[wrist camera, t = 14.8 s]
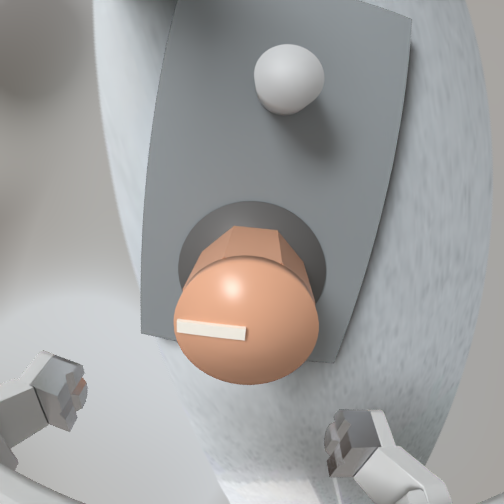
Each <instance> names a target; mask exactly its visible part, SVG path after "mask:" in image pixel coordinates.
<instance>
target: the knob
mask: <svg viewBox="0 0 504 504" xmlns="http://www.w3.org/2000/svg"><path fill="white" fill-rule="evenodd" d="M174 332H175V336H176V339H177V342H178V344H179V346H180V348H181V350H182V351H183V353H184V354H185V356H186V357H187V358H188V359H189V360H190V361H191V362H192V363H193V364H194V365H195V366H196V367H197V368H199V369H200V370H201V371H203V372H205V373H206V374H208V375H210V376H212V377H214V378H216V379H219V380H222V381H225V382H229V383H234V384H242V385H255V384H263V383H268V382H272V381H275V380H278V379H280V378H283V377H285V376H287V375H289V374H290V373H292V372H293V371H295V370H296V369H297V368H299V367H300V366H301V365H302V364H303V363H304V362H305V361H306V360H307V358H308V357H309V356H310V354H311V353H312V351H313V349H314V347H315V344H316V341H317V338H318V332H319V320H318V314H317V311H316V307H315V300H314V296H313V293H312V289H311V286H310V283H309V279H308V276H307V273H306V269H305V266H304V263H303V261H302V260H301V259H300V257H299V256H298V255H297V254H296V252H295V251H294V250H293V249H292V247H291V246H290V245H289V244H288V243H287V241H286V240H285V239H284V238H283V236H282V235H281V234H280V233H279V232H278V230H271V229H261V228H251V227H241V226H233V227H232V228H231V229H229V230H228V231H227V232H226V233H224V234H223V235H222V236H221V237H219V238H218V239H217V240H216V241H214V242H213V243H212V244H211V245H209V246H208V247H207V248H206V249H205V250H203V251H202V253H201V254H200V256H199V258H198V260H197V262H196V264H195V266H194V268H193V270H192V272H191V274H190V276H189V278H188V280H187V282H186V284H185V286H184V288H183V292H182V294H181V296H180V298H179V300H178V303H177V305H176V308H175V313H174Z"/></svg>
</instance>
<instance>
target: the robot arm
mask: <svg viewBox="0 0 504 504" xmlns="http://www.w3.org/2000/svg"><path fill="white" fill-rule="evenodd" d="M83 375H84V369H83V365H80V364H78V363H75V362H73V361H70V360H67V359H65V358H62V357H59V356H57V355H54V354H51V353H49V352H46V351H44V350H43V351H41V352H39V353H38V355H37V356H36V357H35V358H34V360H33V361H32V362H31V363H30V365H29V366H28V367H27V368H26V370H25V371H24V372H23V373H22V375H21V376H20V377H19V379H18V380H17V379H12V380H9V381H7V382H4V383H1V384H0V504H85V503H82V502H80V501H77V500H75V499H72V498H70V497H68V496H65V495H63V494H61V493H58V492H56V491H54V490H52V489H50V488H47V487H45V486H43V485H41V484H39V483H37V482H35V481H33V480H31V479H29V478H27V477H25V476H24V475H22V474H20V473H18V472H16V471H15V469H16V467H17V465H18V460H17V458H16V457H15V455H14V454H13V452H12V451H11V448H12V447H14V446H15V445H17V444H19V443H20V442H22V441H24V440H25V439H27V438H28V437H30V436H32V435H33V434H35V433H36V432H38V431H40V430H41V429H43V428H44V427H46V426H47V425H48V424H50V425H53V426H55V427H58V428H61V429H63V430H66V431H69V432H70V431H71V429H72V427H73V425H74V423H75V421H76V419H77V415H76V411H78V410H80V409H82V408H83V406H84V404H85V402H86V398H87V383H86V381H85V380H84V379H83V378H82V376H83ZM334 420H335V422H333V423H331V424H330V425H329V426H328V428H327V430H326V433H325V437H324V446H325V451H326V452H327V453H328V454H329V455H330V457H329V459H328V460H327V465H328V471H329V477H353V478H354V480H355V481H356V482H357V483H358V484H359V486H360V487H361V488H362V489H363V490H364V492H365V493H366V494H367V495H368V496H369V497H370V499H371V500H372V501H373V502H374V503H375V504H453V503H452V500H451V497H450V494H449V492H448V489H447V486H446V484H445V482H444V481H442V480H441V479H440V478H439V477H437V476H436V475H435V474H434V473H432V472H431V471H430V470H428V469H427V468H426V467H425V466H424V465H422V464H421V463H420V462H419V461H418V460H416V459H415V458H414V457H413V456H411V455H410V454H409V453H408V452H407V451H405V450H404V449H403V448H402V447H401V446H396V444H395V441H394V439H393V436H392V433H391V430H390V428H389V425H388V422H387V420H386V417H385V414H384V412H383V411H382V410H349V409H339V410H338V411H337V412H336V413H335V415H334ZM477 504H504V492H503V493H501V494H499V495H496V496H494V497H492V498H489V499H487V500H485V501H482V502H480V503H477Z"/></svg>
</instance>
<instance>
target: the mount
mask: <svg viewBox="0 0 504 504" xmlns="http://www.w3.org/2000/svg"><path fill="white" fill-rule="evenodd" d="M411 28H412V19H410V18H408V17H405V16H403V15H400V14H398V13H395V12H392V11H389V10H387V9H384V8H381V7H378V6H375V5H372V4H369V3H365V2H362V1H359V0H177V3H176V7H175V11H174V15H173V19H172V23H171V27H170V31H169V36H168V40H167V45H166V50H165V55H164V59H163V65H162V70H161V75H160V81H159V86H158V92H157V98H156V104H155V111H154V118H153V125H152V132H151V140H150V148H149V157H148V166H147V176H146V187H145V199H144V213H143V229H142V251H141V333H142V334H146V335H151V336H155V337H160V338H165V339H170V340H174V341H177V339H176V336H175V332H174V313H175V308H176V305H177V303H178V300H179V298H180V296H181V294H182V292H183V288H184V286H185V284H186V282H187V280H188V278H189V276H190V274H191V272H192V270H193V268H194V266H195V264H196V262H197V260H198V258H199V256H200V254H201V253H202V251H203V250H205V249H206V248H207V247H208V246H209V245H211V244H212V243H213V242H214V241H216V240H217V239H218V238H219V237H221V236H222V235H223V234H224V233H226V232H227V231H228V230H229V229H231V228H232V227H233V226H241V227H251V228H261V229H271V230H278V232H279V233H280V234H281V235H282V236H283V238H284V239H285V240H286V241H287V243H288V244H289V245H290V246H291V247H292V249H293V250H294V251H295V252H296V254H297V255H298V256H299V257H300V259H301V260H302V261H303V263H304V266H305V269H306V273H307V276H308V279H309V283H310V286H311V289H312V293H313V296H314V300H315V307H316V311H317V314H318V320H319V332H318V338H317V341H316V344H315V347H314V349H313V351H312V353H311V354H310V356H309V357H308V358H307V360H306V361H315V362H325V363H334V362H335V359H336V357H337V354H338V351H339V349H340V346H341V343H342V341H343V338H344V335H345V332H346V330H347V327H348V324H349V321H350V318H351V315H352V312H353V309H354V306H355V303H356V300H357V297H358V294H359V291H360V288H361V285H362V282H363V278H364V275H365V272H366V269H367V265H368V262H369V258H370V255H371V251H372V248H373V244H374V241H375V237H376V233H377V230H378V226H379V222H380V218H381V214H382V210H383V206H384V202H385V197H386V193H387V189H388V184H389V180H390V175H391V171H392V166H393V161H394V156H395V151H396V145H397V140H398V134H399V129H400V123H401V116H402V110H403V103H404V96H405V89H406V81H407V73H408V63H409V53H410V42H411Z"/></svg>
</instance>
